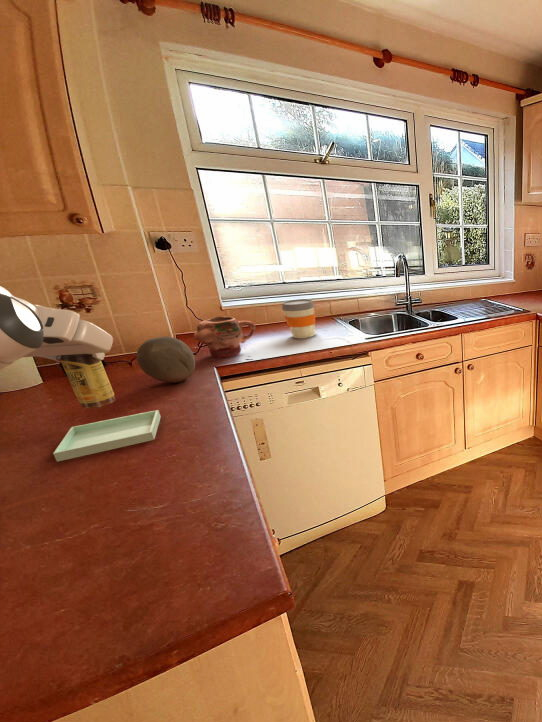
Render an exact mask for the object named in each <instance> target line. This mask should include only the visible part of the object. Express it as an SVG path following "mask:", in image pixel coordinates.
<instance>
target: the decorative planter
mask: <svg viewBox="0 0 542 722" xmlns="http://www.w3.org/2000/svg"><path fill="white" fill-rule="evenodd" d="M246 326H247V327H249V328H250V329H251V330H250V332H249V333H248V335H245V334H244V333H243V328H244V327H246ZM255 331H256V325H255V324H254V323H253V321H250V320H237V318H235V317H233V316H215V317H211V318H208V319H206V320H205V319H204V320H201V321H200V322H198V324H197V326H196V331H195V332H194V334H193V338H194V339H195V340H196V341H198V342H201V343H203V344H204V345H205V346H206V347H207V348H208V349H209V350H208V351H209V353H210V356H211V357H212V358H228V357H235V356H238V355H240V354H241V351H242V348H241V344H244V343H246V342H247V341H248V340H250V339H251V337H253V335H254V334H255Z"/></svg>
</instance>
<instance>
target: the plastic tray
mask: <svg viewBox="0 0 542 722" xmlns="http://www.w3.org/2000/svg"><path fill="white" fill-rule="evenodd" d="M161 418H162V417H161V414H160V410H159V409H155V410H151V411H147V412H140V413H136V414H131V415H125V416H121V417H115V418H110V419H105V420H100V421H96V422H90V423H85V424H81V425H75V426H71V427H70V429H69V430H68V431H67V433H66V434H65V436H64V437H63V438H62V440H61V442H60V443H59V444H58V446H57V447H56V448H55V450H54V451H53V453H52V454H53V456H54V459H55V461H56V463H58V462H62V461H67V460H71V459H75V458H76V459H77V458H81V457H84V456H88V455H92V454H98V453H101V452H106V451H110V450H116V449H119V448H124V447H129V446H133V445H137V444H142V443H146V442H150V441H155V439H156V435H157V432H158V429H159V425H160V421H161Z"/></svg>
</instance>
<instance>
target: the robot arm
mask: <svg viewBox="0 0 542 722" xmlns="http://www.w3.org/2000/svg"><path fill="white" fill-rule="evenodd" d="M80 317H81V315H80V314H79V313H78V312H76V311H73V310H71V309H70V310H69V309H60V308H59V309H58V308H52V307H47V306H43V305H40V304H32V303H30V302H29V301H27V300H25V299H23V298H20V297H17V296H15V295H13V294H12V293H11V292H10V291H9V290H7V289H6V288H5V287H3V286H1V285H0V370H2V369H4V368H6V367H8V366H10V365H12V364H13V363H15V361H17V360H20V359H22V358H32V357H34V358H35V357H39V358H43V359H48V360H53V361H55V362H57V363H61V355H73V354H91V355H90V358H92V359H94V360H101V361H103V360H104V359H105V356H106V354H107V353H110V351H111V349H112V347H113V343H114V338H113V335H111V334H110V333H108V331H105V330H104V329H102V328H101V327H99V326H97V325H96V324H95V323H92V322H90V321H87V320H84V319H80Z"/></svg>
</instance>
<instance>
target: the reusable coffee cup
mask: <svg viewBox="0 0 542 722" xmlns="http://www.w3.org/2000/svg"><path fill="white" fill-rule="evenodd" d="M281 308H282V311H283V313H284V318H285V321H286V323H287V327H289V329H290V331H291V335H292V338H294V339H306V338H310V337H313V336H315V335H316V328H315V324H316V313H315V310H314V309H315V305H314V302H313V299H308V298H298V299H290V300H286V301H282V302H281Z"/></svg>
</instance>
